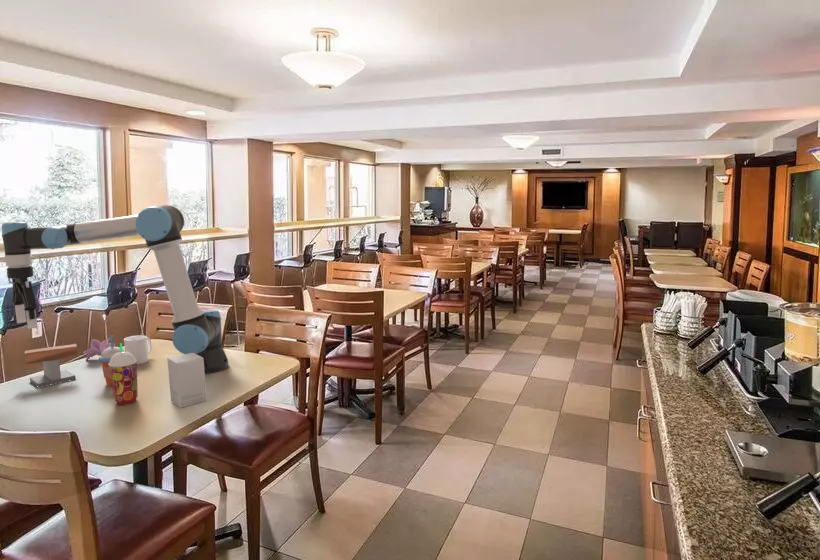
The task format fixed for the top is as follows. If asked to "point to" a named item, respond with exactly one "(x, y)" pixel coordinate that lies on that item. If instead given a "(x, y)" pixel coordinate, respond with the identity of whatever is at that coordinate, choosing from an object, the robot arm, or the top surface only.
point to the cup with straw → (108, 360)
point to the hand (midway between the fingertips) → (27, 325)
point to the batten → (51, 353)
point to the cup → (138, 347)
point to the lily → (97, 348)
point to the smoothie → (123, 377)
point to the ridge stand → (52, 374)
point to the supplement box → (187, 379)
